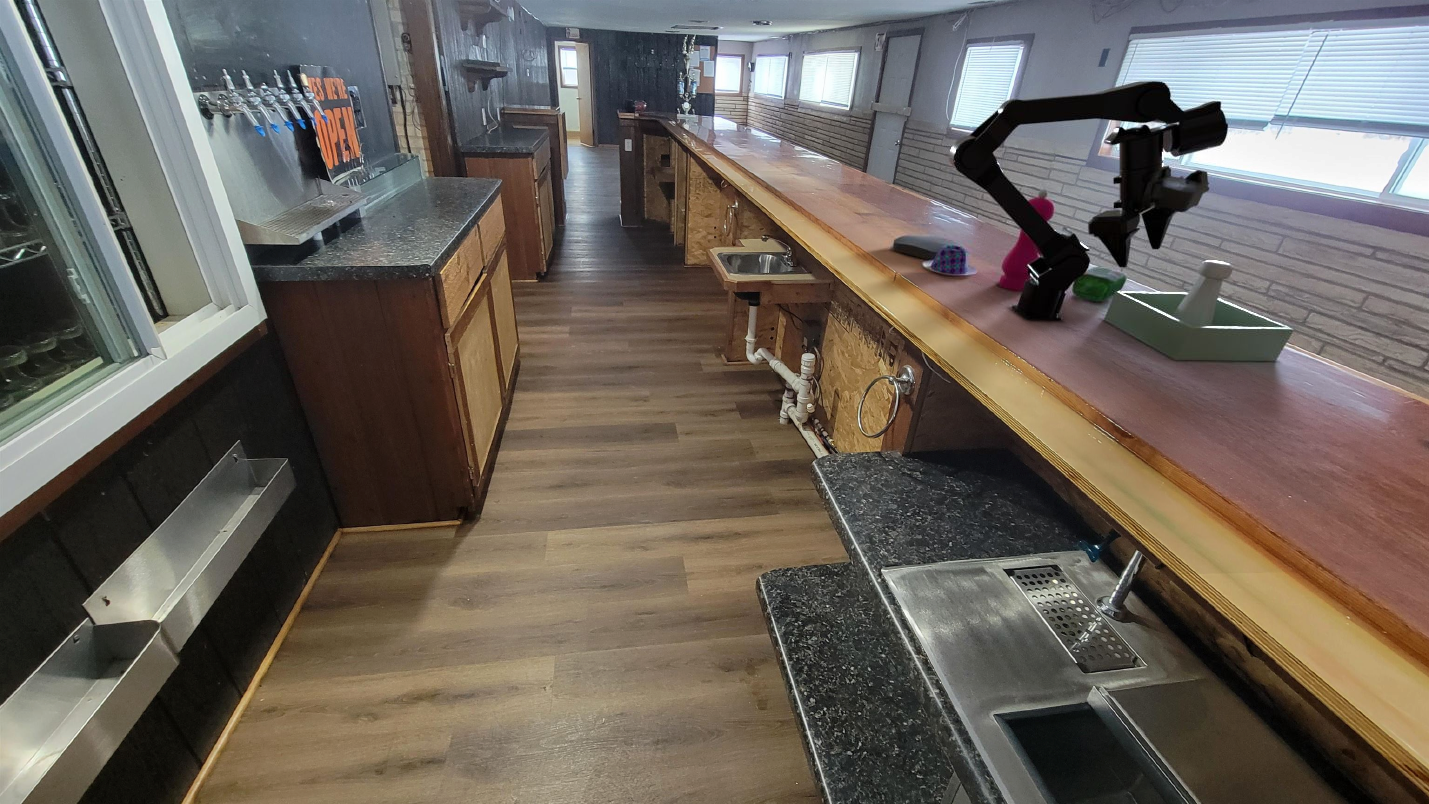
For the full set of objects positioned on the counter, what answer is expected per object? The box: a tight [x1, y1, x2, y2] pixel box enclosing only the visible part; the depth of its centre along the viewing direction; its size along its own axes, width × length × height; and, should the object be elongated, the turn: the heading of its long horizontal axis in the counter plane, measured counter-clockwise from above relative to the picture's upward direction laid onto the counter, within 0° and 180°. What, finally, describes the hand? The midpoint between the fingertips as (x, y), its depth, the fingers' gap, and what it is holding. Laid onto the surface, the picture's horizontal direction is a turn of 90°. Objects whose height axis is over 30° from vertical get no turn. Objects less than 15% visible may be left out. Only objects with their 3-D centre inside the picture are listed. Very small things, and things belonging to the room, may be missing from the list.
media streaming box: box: [892, 234, 964, 260], centre depth 144 cm, size 15×15×3 cm
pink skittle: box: [998, 189, 1056, 292], centre depth 117 cm, size 7×7×20 cm
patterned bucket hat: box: [922, 245, 978, 277], centre depth 130 cm, size 12×12×5 cm
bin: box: [1103, 290, 1295, 362], centre depth 98 cm, size 18×18×6 cm
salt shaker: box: [1172, 260, 1234, 326], centre depth 96 cm, size 6×6×13 cm
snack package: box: [1071, 266, 1128, 303], centre depth 118 cm, size 7×16×5 cm, turn 131°
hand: (1139, 258), depth 99 cm, fingers open, 9 cm apart
